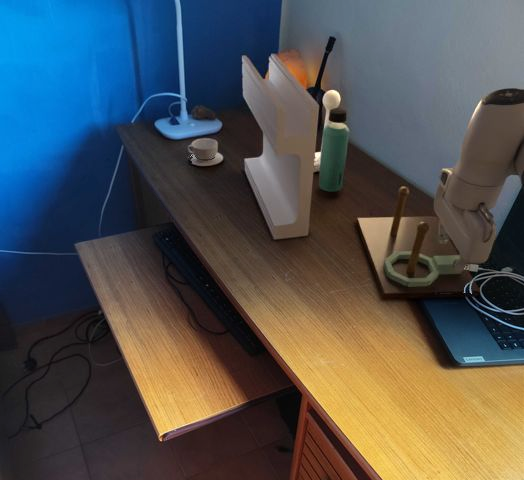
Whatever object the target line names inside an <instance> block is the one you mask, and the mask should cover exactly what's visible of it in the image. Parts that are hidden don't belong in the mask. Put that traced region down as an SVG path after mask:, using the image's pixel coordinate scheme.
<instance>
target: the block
mask: <svg viewBox="0 0 524 480" xmlns="http://www.w3.org/2000/svg"><path fill="white" fill-rule="evenodd" d="M268 61H269V62H268V78H263V76H261V74H260V72H259V71H258V69H257V68H256V67H255V66H254V64H253V62H252V61H251V59H250V58H249V57H247V55H241V62H242V63H241V76H242V79H241V80H242V97H243V99H244V100H245V103H246V105H247V106H248V108H249V110H250V111H251V114H252V116H253V117H254V119H255V120H256V122H257V124H258V126H259V128H260V130H261V131H262V133H263V134H262V153H261V155H259V156H257V157H248V158H244V159H243V161H244V173H245V175H246V178H247V180H248V182H249V184H250V187H251V189H252V192H253V194H254V196H255V199H256V201H257V204H258V206H259V208H260V211H261V213H262V215H263V218H264V219H265V222H266V224H267V227H268V229H269V231H270V234H271V236H272V239H273V240H282V239H289V238H290V239H291V238H298V237H299V238H300V237H306V236H309V228H310V215H311V205H312V195H313V194H312V192H313V181H314V172H313V171H314V159H315V153H316V147H317V135H318V124H319V110H320V105H319V103H318V102H317V101H316V99H315V98H314V97H313V96H312V95H311V94H310V93H309V92H308V90H307V89H306V88H305V87H304V86H303V85H302V84H301V82H300V81H299V80H298V79H297V77H296V76H295V75H294V74H293V73H292V72H291V71H290V69H289V68H288V67H287V65H285V63H284V62H283V60H282V59H280V57H278V55H277V54H276V53H271V54H270V56H268Z"/></svg>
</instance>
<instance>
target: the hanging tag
mask: <svg viewBox="0 0 524 480" xmlns="http://www.w3.org/2000/svg"><path fill="white" fill-rule="evenodd" d="M411 252H412V251H405V252H396V253H395V252H394V253H393V254H392V255H390V256H389V257H388V258H387V259H386V260H385V261H384V265H383V266H384V269H385V271H386V274H387V276H388V277H389V278H390V279H392V280H394V281H396V282H398V283H400V284H402V285H404V286H408V287H417V286H427V285H428V286H429V285H430V284H431V283H432V282H433V281H434V280H435V279H436V278H437V277H438V275H439V274H461V272H456V271H454V269H453V267H452V265H453V262H454V260H458V259H459V258H460V257H459V255H449V256H433V259H432V258H430V257H427V256H425V255H423V254H419V258H418V261H419V262H421V263H423V264H425V265H427V266H428V268H429V270H430V272H431V273H430V274H429V275H428V276H427V277H426V278H407V277H405V276H403V275H401V274H399V273H396V272H394V270H393V267H392V265H391V264H393V263H394V262H395V261H396V260H397V259H410V256H411Z"/></svg>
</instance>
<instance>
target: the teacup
mask: <svg viewBox="0 0 524 480" xmlns="http://www.w3.org/2000/svg"><path fill="white" fill-rule="evenodd" d="M218 147H219V143H218V141H217V140H216V139H213V138H210V137H209V138H207V137H204V138H203V137H202V138H197V139H195V140H192V142H191V143H190V144H189V145H188V146H187V151H188V153H189V154H190V155H191V156H192V155H193V156H192V157H193V158H192V159H191V161H192V163H191V164H192V165H195V166H199V167H208V166H209V167H211V166H214V165H215V166H216V165H217V164H220V163H221V162H222V161H223V160H224V156H223V155H222V154H221V153H220V152H218V150H219V149H218ZM190 148H191V149H190ZM191 153H192V154H191ZM190 155H189V156H190ZM191 156H190V157H191ZM195 156H196V157H197V158H199V159H212V158H214V157H215V158H214V159H212V160H208V161H202V160H199V159H197V158H196V157H195Z"/></svg>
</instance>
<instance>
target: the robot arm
mask: <svg viewBox="0 0 524 480" xmlns="http://www.w3.org/2000/svg"><path fill="white" fill-rule="evenodd" d="M510 176H518V177H519V180H520V183H521V184H520V185H521V188H522V192H523V194H524V89H521V88H518V87H509V88H501V89H497V90H494V91H492V92H490V93H487V94H486V95H485V96H484V97H482V99H481V100H480V101H479V102H478V104H477V106H476V108H475V110H474V112H473V114H472V116H471V117H470V120H469V123H468V125H467V128H466V130H465V133H464V135H463V139H462V142H461V145H460V156H459V158H458V160H457V162H456V163H455V165H454V166H453V167H444V168H442V169H441V170H440V174H439V176H438V178H439V182H438V185H437V188H436V192H435V196H434V199H433V211H434V213H435V214H436V217H437V219H438V220H439V234H438V237H437V240H438V242H439V243H440V244H442V243H443V244H446V243H447V242H448V239H450V240H451V242H452V244H453V245H454V247H455V249H456V251H457V252H458V254H459V257H460V258H459V259H458V260H454V262H453V265H452V267H453V269H454V271H456V272H461V271H463V270H464V268H465V266H466V265H467V264H468V265H477V264H484V263H485V262H487V261H488V259H489V257H490V254H491V252H492V249H493V245H494V242H495V239H496V236H497V229H498V228H497V224H496V222H495V216H494V214H493V213H492V212H491V211H490V210H492V209H493V208H494V207H495V206H496V204H497V202H498V200H499V197H500V196H501V195H500V194H501V192H502V190H503V188H504V185H505V183H506V180H507V179H508V177H510Z"/></svg>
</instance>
